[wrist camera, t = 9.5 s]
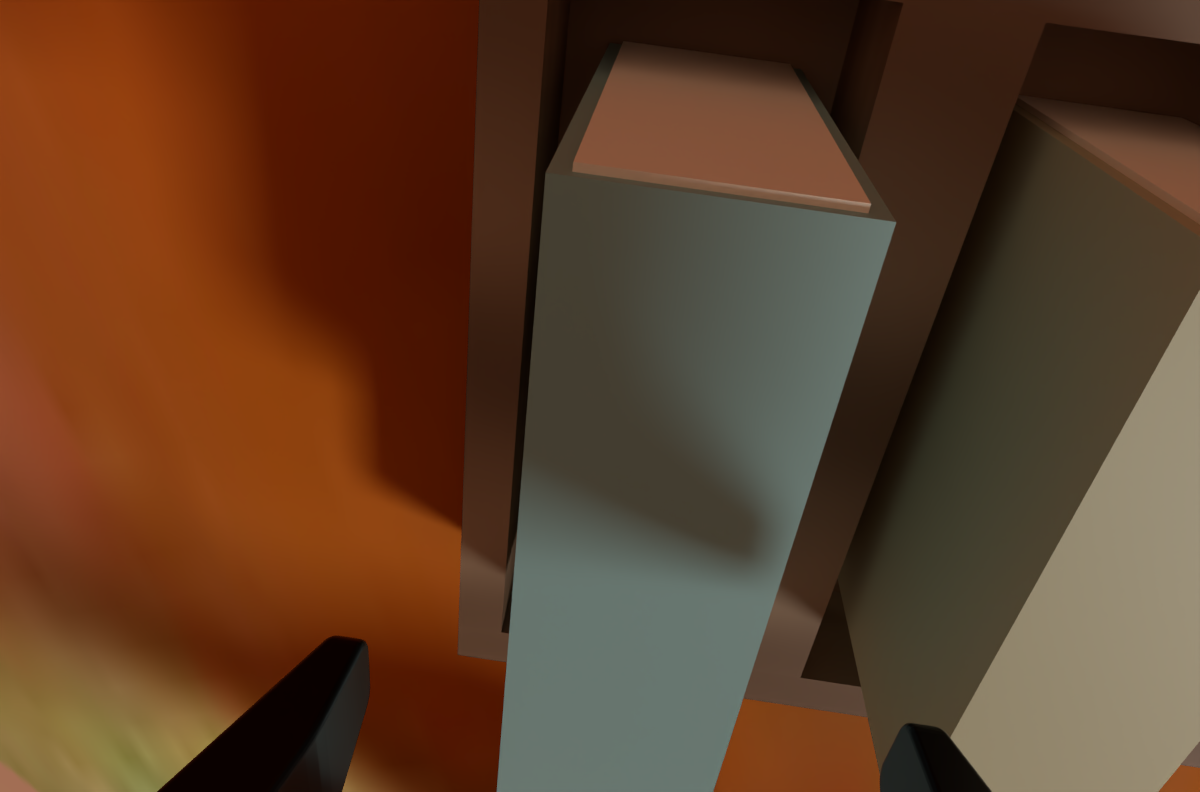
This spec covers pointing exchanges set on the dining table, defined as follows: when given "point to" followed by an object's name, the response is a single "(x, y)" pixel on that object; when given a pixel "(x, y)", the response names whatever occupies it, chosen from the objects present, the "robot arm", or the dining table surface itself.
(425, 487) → the dining table surface
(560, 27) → the book rack
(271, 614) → the dining table surface
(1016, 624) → the olive book
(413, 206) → the dining table surface
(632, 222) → the teal book
